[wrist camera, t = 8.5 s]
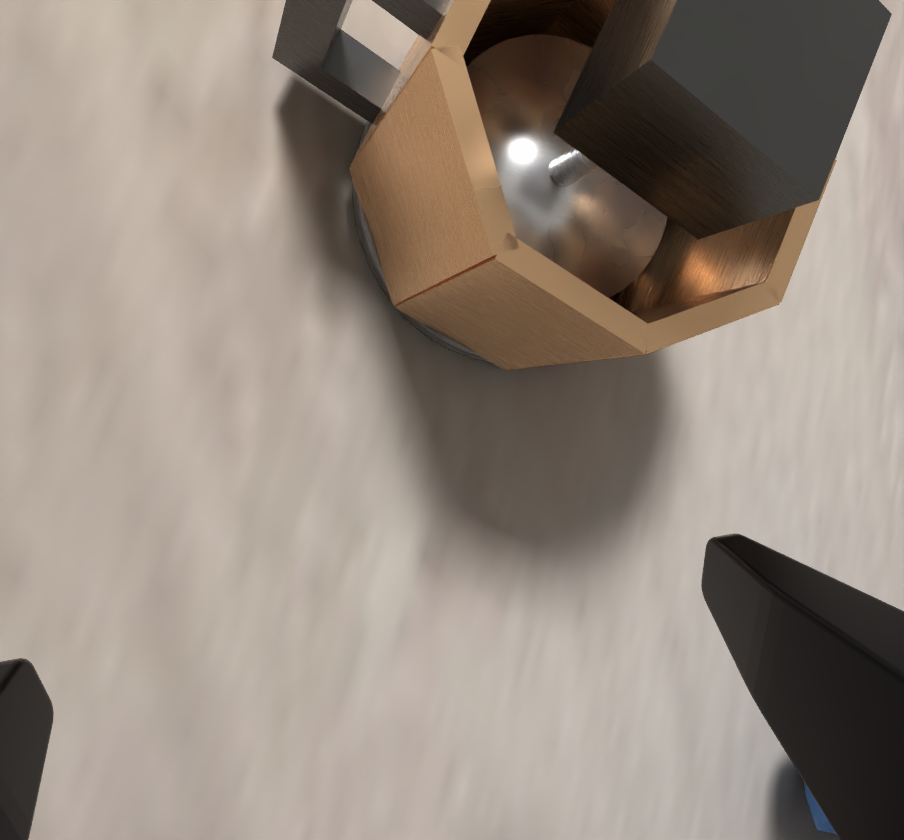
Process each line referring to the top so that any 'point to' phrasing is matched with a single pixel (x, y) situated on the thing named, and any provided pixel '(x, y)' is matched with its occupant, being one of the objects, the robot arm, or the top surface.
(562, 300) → the octagonal wooden mug
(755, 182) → the grey cube on disc
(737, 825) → the top surface
